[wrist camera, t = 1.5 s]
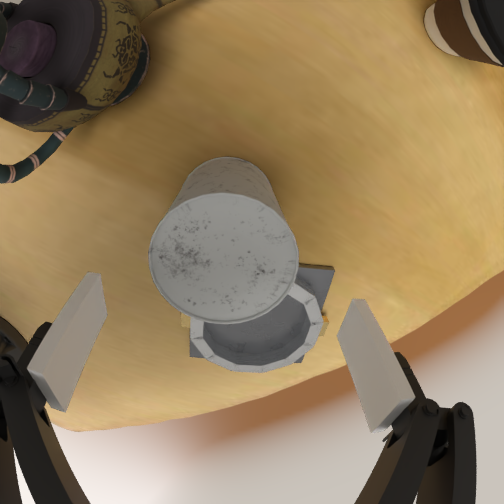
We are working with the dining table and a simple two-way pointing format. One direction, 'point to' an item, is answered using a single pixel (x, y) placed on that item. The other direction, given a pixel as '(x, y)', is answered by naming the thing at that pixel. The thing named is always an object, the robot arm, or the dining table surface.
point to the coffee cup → (468, 29)
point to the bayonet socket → (268, 328)
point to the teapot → (67, 65)
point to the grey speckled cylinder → (224, 245)
